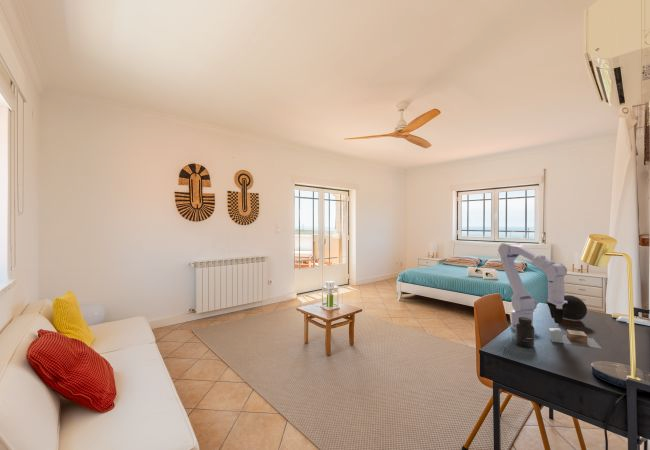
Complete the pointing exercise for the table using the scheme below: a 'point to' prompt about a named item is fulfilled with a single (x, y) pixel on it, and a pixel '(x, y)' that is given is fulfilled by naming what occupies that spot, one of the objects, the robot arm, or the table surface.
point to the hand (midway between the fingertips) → (556, 320)
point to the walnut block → (577, 336)
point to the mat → (590, 343)
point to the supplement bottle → (525, 333)
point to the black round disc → (573, 311)
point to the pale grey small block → (556, 335)
